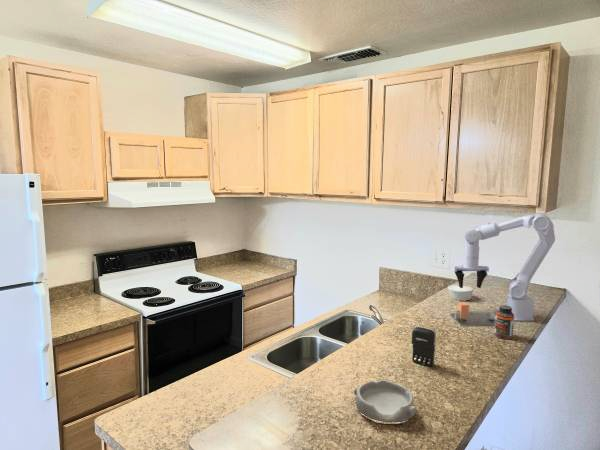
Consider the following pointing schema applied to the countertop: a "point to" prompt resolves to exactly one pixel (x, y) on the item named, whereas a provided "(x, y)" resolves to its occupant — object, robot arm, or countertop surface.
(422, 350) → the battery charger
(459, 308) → the block
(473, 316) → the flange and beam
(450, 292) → the ramekin
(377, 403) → the dish
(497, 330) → the supplement bottle
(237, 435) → the countertop surface
